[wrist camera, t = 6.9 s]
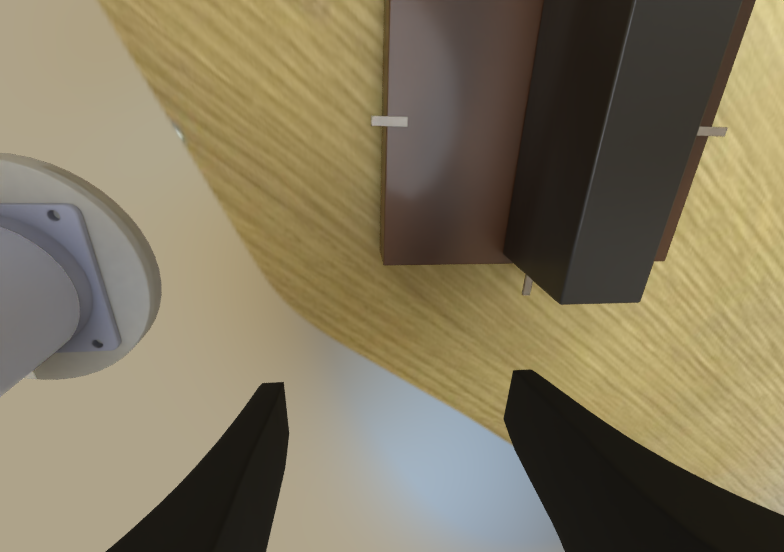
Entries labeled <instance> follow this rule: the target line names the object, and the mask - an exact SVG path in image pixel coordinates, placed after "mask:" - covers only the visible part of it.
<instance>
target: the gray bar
mask: <svg viewBox="0 0 784 552" xmlns="http://www.w3.org/2000/svg"><path fill="white" fill-rule="evenodd" d="M742 1H743V0H544V6H543V12H542V18H541V24H540V30H539V36H538V42H537V48H536V55H535V61H534V67H533V73H532V79H531V85H530V91H529V97H528V104H527V110H526V116H525V122H524V128H523V134H522V140H521V146H520V152H519V159H518V165H517V171H516V177H515V183H514V189H513V195H512V201H511V208H510V214H509V220H508V226H507V232H506V238H505V244H504V250H503V254H504V255H505V256H506V257H507V258H508V259H509V260H510V261H511V262H513V263H514V264H515V265H516V266H517V267H518V268H519V269H520V270H522V271H523V272H524V273H525V274H526V275H527V276H528V277H530V278H531V279H532V280H533V281H534V282H535V283H536V284H537V285H539V286H540V287H541V288H542V289H543V290H544V291H545V292H546V293H548V294H549V295H550V296H551V297H552V298H553V299H554V300H555V301H557V302H558V303H559V304H561V305H564V304H602V303H639V302H640V301H641V298H642V295H643V292H644V289H645V286H646V283H647V280H648V277H649V274H650V271H651V269H652V266H653V263H654V260H655V257H656V254H657V251H658V248H659V245H660V242H661V239H662V236H663V233H664V230H665V227H666V224H667V221H668V219H669V216H670V213H671V210H672V207H673V204H674V201H675V198H676V195H677V192H678V189H679V186H680V183H681V180H682V177H683V174H684V172H685V169H686V166H687V163H688V160H689V157H690V154H691V151H692V148H693V145H694V142H695V139H696V136H697V133H698V130H699V127H700V124H701V122H702V119H703V116H704V113H705V110H706V107H707V104H708V101H709V98H710V95H711V92H712V89H713V86H714V83H715V80H716V77H717V74H718V72H719V69H720V66H721V63H722V60H723V57H724V54H725V51H726V48H727V45H728V42H729V39H730V36H731V33H732V30H733V27H734V25H735V22H736V19H737V16H738V13H739V10H740V7H741V4H742Z"/></svg>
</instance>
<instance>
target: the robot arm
mask: <svg viewBox="0 0 784 552" xmlns="http://www.w3.org/2000/svg"><path fill="white" fill-rule="evenodd" d="M53 211H56V212H58V213H59V215H60V219H58V218H57V217H55V215H54V214H53ZM97 340H100V341H101V342H102V343H103V344H101V343H99V342H98V341H97ZM120 344H121V337H120V334H119V331H118V328H117V324H116V321H115V318H114V315H113V311H112V308H111V305H110V302H109V298H108V295H107V292H106V289H105V286H104V282H103V279H102V276H101V273H100V269H99V266H98V263H97V260H96V257H95V253H94V250H93V247H92V244H91V240H90V237H89V234H88V231H87V228H86V224H85V221H84V218H83V215H82V212H81V211H80V209H79V208H78V207H77V206H75V205H73V204H68V203H0V397H1V396H2V395H3V394H5V393H6V392H7V391H8V390H10V389H11V388H12V387H13V386H14V385H15V384H17V383H18V382H19V381H20V380H22V379H23V378H24V377H25V376H27V375H28V374H29V373H30V372H32V371H33V370H34V369H35V368H36V367H38V366H39V365H40V364H41V363H43V362H44V361H45V360H46V359H47V358H49V357H50V356H51V355H52V354H53V353H64V352H90V351H112V350H115V349H116V348H118V347H119V346H120ZM504 422H505V425H506V427H507V430H508V433H509V436H510V439H511V441H512V444H513V446H514V449H515V451H516V453H517V455H518V457H519V459H520V461H521V463H522V465H523V467H524V469H525V471H526V473H527V475H528V477H529V479H530V481H531V482H532V485H533V487H534V488H535V490H536V492H537V494H538V496H539V498H540V500H541V502H542V504H543V506H544V508H545V510H546V511H547V514H548V516H549V517H550V519H551V521H552V523H553V525H554V527H555V530H556V532H557V534H558V536H559V538H560V540H561V543H562V546H563V548H564V550H565V552H784V516H783V515H781V514H779V513H776V512H774V511H772V510H769V509H767V508H765V507H762V506H760V505H758V504H756V503H753V502H751V501H749V500H746V499H744V498H742V497H740V496H737V495H735V494H733V493H731V492H729V491H727V490H725V489H722V488H720V487H718V486H716V485H714V484H712V483H710V482H708V481H706V480H704V479H702V478H700V477H698V476H696V475H694V474H692V473H690V472H688V471H686V470H684V469H683V468H681V467H679V466H677V465H675V464H673V463H671V462H669V461H668V460H666V459H664V458H662V457H661V456H659V455H657V454H656V453H654V452H652V451H650V450H649V449H647V448H645V447H643V446H642V445H640V444H638V443H637V442H635V441H633V440H632V439H630V438H629V437H627V436H626V435H624V434H622V433H621V432H619V431H618V430H616V429H615V428H613V427H612V426H610V425H609V424H607V423H606V422H604V421H603V420H601V419H600V418H598V417H597V416H595V415H594V414H593V413H591V412H590V411H588V410H587V409H586V408H584V407H583V406H581V405H580V404H579V403H577V402H576V401H574V400H573V399H572V398H570V397H569V396H568V395H566V394H565V393H563V392H562V391H561V390H559V389H558V388H557V387H555V386H554V385H553V384H551V383H550V382H549V381H547V380H546V379H544V378H543V377H542V376H540V375H539V374H537V373H536V372H534V371H533V370H513V374H512V379H511V384H510V389H509V394H508V399H507V404H506V409H505V415H504ZM288 439H289V427H288V419H287V409H286V401H285V391H284V382H277V383H262V384H261V385H260V386H259V388H258V389H257V390H256V392H255V393H254V395H253V396H252V398H251V399H250V400H249V402H248V403H247V404H246V406H245V407H244V409H243V410H242V411H241V413H240V414H239V415H238V416H237V418H236V419H235V420H234V422H233V423H232V424H231V426H230V427H229V428H228V429H227V430H226V432H225V433H224V434H223V435H222V437H221V438H220V439H219V441H218V442H217V443H216V444H215V445H214V446H213V447H212V449H211V450H210V451H209V452H208V453H207V454H206V455H205V457H204V458H203V459H202V460H201V461H200V462H199V463H198V465H197V466H196V467H195V468H194V469H193V470H192V471H191V472H190V473H189V474H188V475H187V477H186V478H185V479H184V480H183V481H182V482H181V483H180V484H179V485H178V486H177V487H176V488H175V489H174V490H173V491H172V492H171V493H170V494H169V495H168V496H167V497H166V498H165V499H164V500H163V501H162V502H161V503H160V504H159V505H158V506H157V507H155V508H154V509H153V510H152V511H151V512H150V513H149V514H148V515H147V516H146V517H145V518H143V519H142V520H141V521H140V522H139V523H138V524H137V525H136V526H135V527H134V528H133V529H131V530H130V531H129V532H128V533H127V534H126V535H125V536H124V537H122V538H121V539H120V540H119V541H118V542H117V543H115V544H114V545H113V546H112V547H111V548H109V549H108V550H107V551H106V552H266V549H267V545H268V540H269V536H270V532H271V527H272V523H273V519H274V514H275V510H276V506H277V501H278V497H279V493H280V488H281V483H282V480H283V475H284V471H285V465H286V456H287V448H288Z"/></svg>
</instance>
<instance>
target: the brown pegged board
mask: <svg viewBox="0 0 784 552" xmlns="http://www.w3.org/2000/svg"><path fill="white" fill-rule="evenodd" d="M755 1H756V0H743V1H742V4H741V7H740V10H739V13H738V16H737V19H736V22H735V25H734V27H733V30H732V33H731V36H730V39H729V42H728V45H727V48H726V51H725V54H724V57H723V60H722V63H721V66H720V69H719V72H718V74H717V77H716V80H715V83H714V86H713V89H712V92H711V95H710V98H709V101H708V104H707V107H706V110H705V113H704V116H703V119H702V122H701V124H700V127H699V130H698V133H697V136H696V139H695V142H694V145H693V148H692V151H691V154H690V157H689V160H688V163H687V166H686V169H685V172H684V174H683V177H682V180H681V183H680V186H679V189H678V192H677V195H676V198H675V201H674V204H673V207H672V210H671V213H670V216H669V219H668V221H667V224H666V227H665V230H664V233H663V236H662V239H661V242H660V245H659V248H658V251H657V254H656V257H655V260H654V261H665V259H666V256H667V253H668V250H669V247H670V244H671V241H672V238H673V236H674V233H675V230H676V227H677V224H678V221H679V218H680V216H681V213H682V210H683V207H684V204H685V201H686V198H687V196H688V193H689V190H690V187H691V184H692V181H693V178H694V176H695V173H696V170H697V167H698V164H699V161H700V158H701V156H702V153H703V150H704V147H705V144H706V141H707V138H708V136H725V134H726V131H727V127H712V124H713V121H714V118H715V115H716V113H717V110H718V107H719V104H720V101H721V98H722V95H723V93H724V90H725V87H726V84H727V81H728V78H729V75H730V73H731V70H732V67H733V64H734V61H735V58H736V55H737V52H738V50H739V47H740V44H741V41H742V38H743V35H744V32H745V30H746V27H747V24H748V21H749V18H750V15H751V12H752V10H753V7H754V4H755ZM543 6H544V0H384V40H383V95H382V116H371V126H382V150H381V205H380V253H381V257H382V261H383V265H441V264H507V263H513V262H511V261H510V260H509V259H508V258H507V257H506V256H505V255H504V254H503V250H504V244H505V238H506V232H507V226H508V220H509V214H510V208H511V201H512V195H513V189H514V183H515V177H516V171H517V165H518V159H519V152H520V146H521V140H522V134H523V128H524V122H525V116H526V110H527V104H528V97H529V91H530V85H531V79H532V73H533V67H534V61H535V55H536V48H537V42H538V36H539V30H540V24H541V18H542V12H543ZM532 282H533V280H532V279H531V278H530V277H528V276H527V275H526V274H525V279H524V284H523V290H522V295H530V292H531V287H532Z"/></svg>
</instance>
